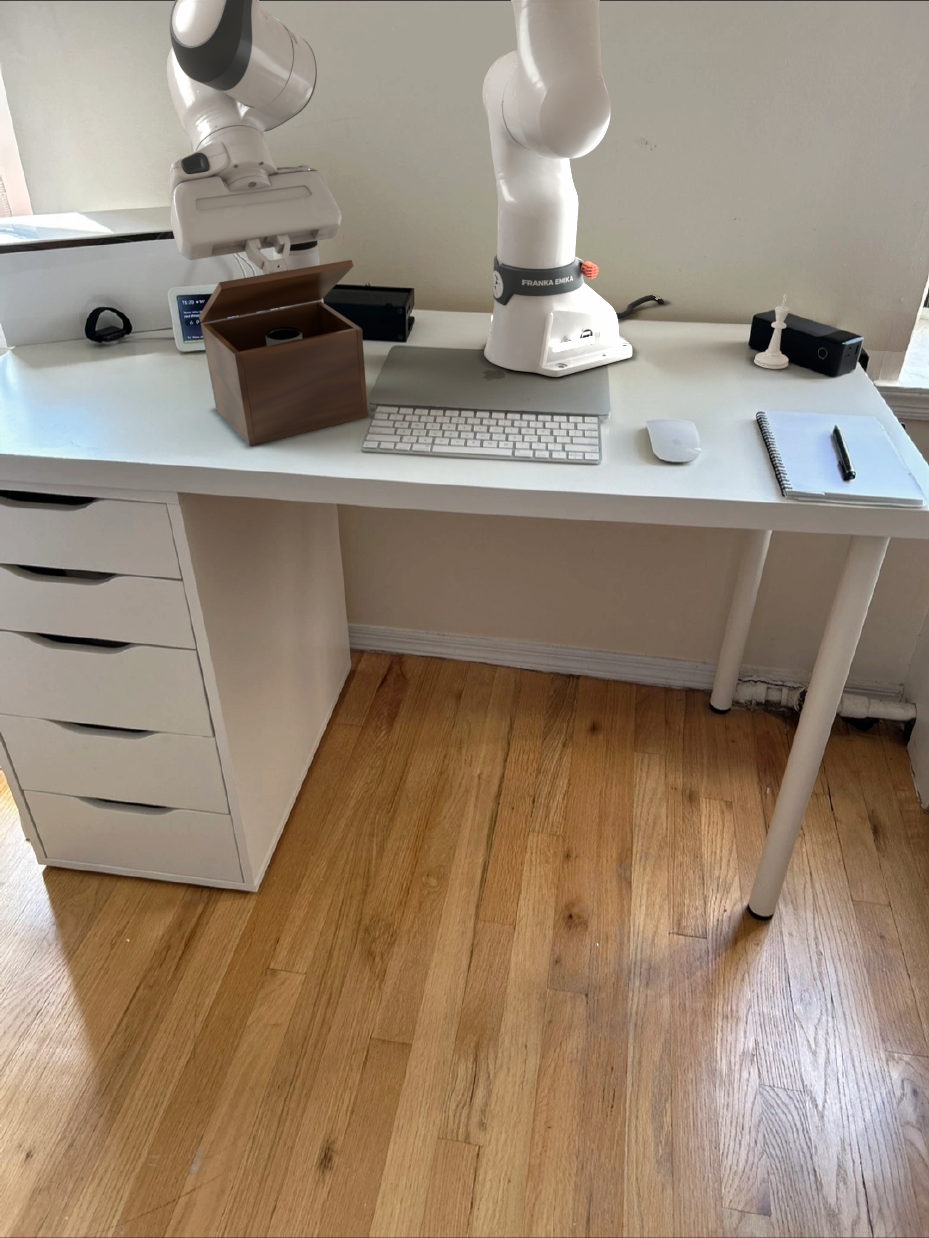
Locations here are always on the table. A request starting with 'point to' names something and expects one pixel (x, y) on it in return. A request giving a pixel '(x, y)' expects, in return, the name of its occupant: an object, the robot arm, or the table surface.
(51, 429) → the table surface
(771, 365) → the chess piece
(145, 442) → the table surface
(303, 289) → the box lid
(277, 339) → the gray cylinder
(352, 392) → the storage box
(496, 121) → the robot arm
